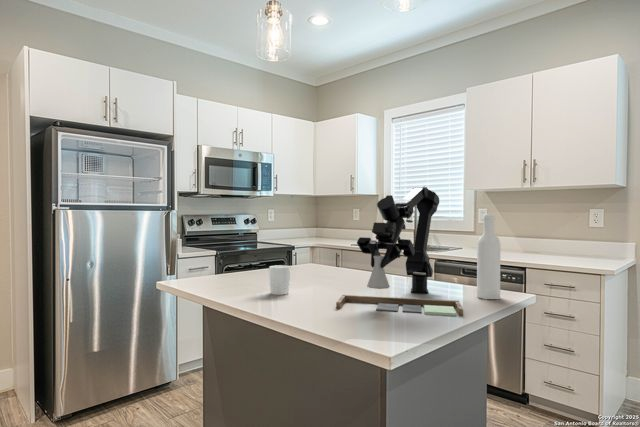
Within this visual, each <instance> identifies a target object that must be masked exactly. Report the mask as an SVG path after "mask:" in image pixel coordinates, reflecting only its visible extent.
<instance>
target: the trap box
mask: <svg viewBox="0 0 640 427" xmlns="http://www.w3.org/2000/svg"><path fill="white" fill-rule="evenodd" d="M347 302H348V303H363V304H364V303H365V304H377V307H376V311H379V312H392V313H393V312H397V313H398V312H399V307H400V305H401V306H402V313H410V314H411V313H412V314H422V307H424V305H434V306H453V307H454V309H455V312H456V314H457V315H458V316H459V317H463V316H464V309H463V306H462V305H461V302H460V300H454V299H453V300H448V299H435V298H434V299H433V298H430V299H429V298H412V297H411V298H409V297H395V296H394V297H393V296H392V297H391V296H390V297H389V296H373V295H372V296H371V295H370V296H369V295H355V294H354V295H350V294H349V295H348V294H342V295H341V296H340V297H339V299H338V300H336V302H335V303H336V305H335V309H337V310H338V309H339V310H340V309H342V307H343V305H344V304H345V303H347Z"/></svg>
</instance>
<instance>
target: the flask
mask: <svg viewBox="0 0 640 427" xmlns="http://www.w3.org/2000/svg"><path fill="white" fill-rule="evenodd" d="M383 258H384V255H381V256H374V267H372V271H371V275H370V277H369V279H368V282H367V285H366V287H367V288H369V289H375V290H380V289H381V290H382V289H384V290H385V289H389V288H390V284H389V280H388V277H387V275H386V272H385V267H383V268H381V267H380V266H381V262H382V260H383Z"/></svg>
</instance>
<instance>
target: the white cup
mask: <svg viewBox="0 0 640 427" xmlns="http://www.w3.org/2000/svg"><path fill="white" fill-rule="evenodd" d="M268 267H269V268H268V270H269V271H268V272H269V273H268V275H269V290H270V292H269V293H270V294H271V295H274V296H284V294H285V295H287V294H289V292H290V280H291V266H290V265H285V264H283V265H282V264H279V265H277V264H275V265H270V266H268Z"/></svg>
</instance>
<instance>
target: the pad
mask: <svg viewBox="0 0 640 427" xmlns="http://www.w3.org/2000/svg"><path fill="white" fill-rule="evenodd" d="M423 312H424V315H432V316H451V317H456V316H457V311H456V308H454V307H453V306H434V305H424V306H423Z"/></svg>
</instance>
